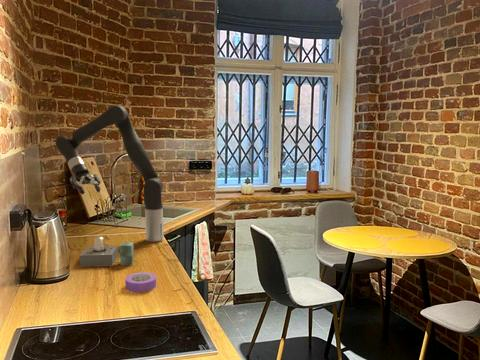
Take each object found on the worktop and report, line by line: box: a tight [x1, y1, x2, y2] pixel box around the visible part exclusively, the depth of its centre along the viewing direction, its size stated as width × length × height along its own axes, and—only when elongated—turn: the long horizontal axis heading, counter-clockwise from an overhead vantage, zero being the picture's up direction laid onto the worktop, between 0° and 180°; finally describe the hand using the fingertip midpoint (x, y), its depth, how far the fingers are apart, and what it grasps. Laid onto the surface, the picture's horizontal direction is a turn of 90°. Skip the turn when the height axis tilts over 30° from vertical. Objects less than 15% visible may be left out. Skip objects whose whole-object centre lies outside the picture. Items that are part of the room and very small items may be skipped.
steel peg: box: [93, 236, 105, 252], centre depth 199 cm, size 4×4×11 cm
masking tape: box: [124, 271, 157, 293], centre depth 170 cm, size 12×12×4 cm
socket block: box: [79, 245, 119, 267], centre depth 199 cm, size 14×14×5 cm
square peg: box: [119, 241, 135, 266], centre depth 196 cm, size 5×5×9 cm
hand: (91, 192), depth 216 cm, fingers open, 8 cm apart
